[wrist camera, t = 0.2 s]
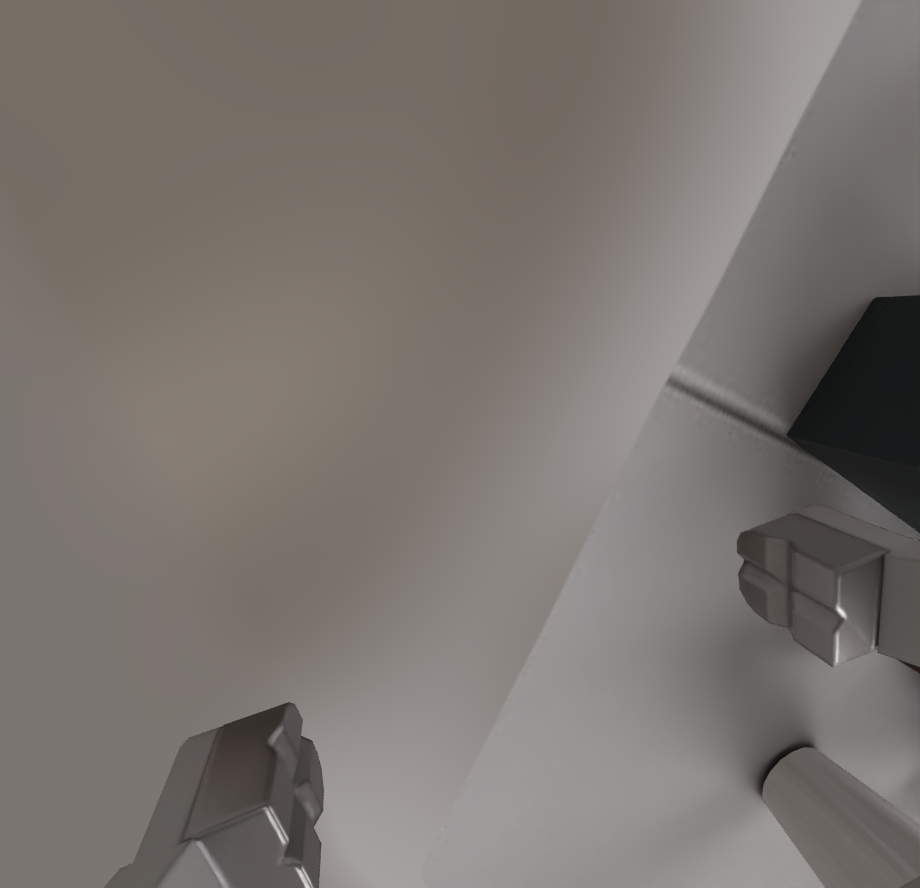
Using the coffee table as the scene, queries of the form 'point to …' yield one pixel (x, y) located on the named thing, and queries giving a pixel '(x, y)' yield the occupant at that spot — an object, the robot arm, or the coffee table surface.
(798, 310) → the coffee table surface
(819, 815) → the cup
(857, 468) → the brush case
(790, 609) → the robot arm
